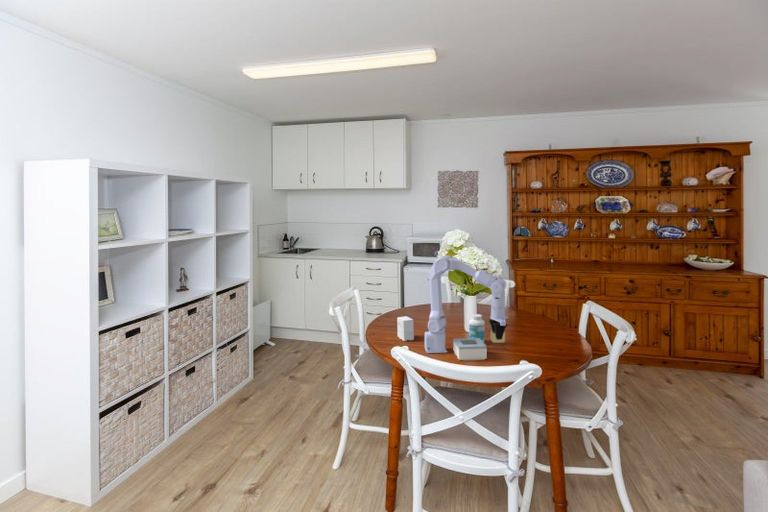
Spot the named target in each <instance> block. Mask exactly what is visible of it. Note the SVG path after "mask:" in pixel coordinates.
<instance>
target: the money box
mask: <svg viewBox="0 0 768 512" xmlns="http://www.w3.org/2000/svg"><path fill="white" fill-rule="evenodd" d="M452 341H453V343H452V344H453V345H452V347H453V348H452V350H453V351H454V352H453V354H454V355H455V356H457V357H456V358H457V360H458V359H459V360H463V361H486V360H485V359H487V352H488V351H487V349H488V347H487V344H486V343H485V342H484V343H483V342H482V340H481V339H480V338H469V337H465V338H459V337H458V338H453V339H452ZM459 360H458V361H459Z"/></svg>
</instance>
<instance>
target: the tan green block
mask: <svg viewBox="0 0 768 512" xmlns="http://www.w3.org/2000/svg"><path fill="white" fill-rule="evenodd" d="M490 341H491V342H492V343H493V344H495V343H505V342H506V333H505V332H504V333H503V337H502V339H499V340H497V338H496V332H495V331H492V330H490Z"/></svg>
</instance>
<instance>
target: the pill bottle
mask: <svg viewBox="0 0 768 512" xmlns="http://www.w3.org/2000/svg"><path fill="white" fill-rule="evenodd" d="M468 321H469V322H468V338H480V339H481V340H482V342H483V343H484V344H485V331H486V330H485V328H486V327H485V325H486V322H485V320H484V319H483V315H482V314H481V313H474V314H472V315H471V319H469V320H468Z"/></svg>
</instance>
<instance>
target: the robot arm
mask: <svg viewBox="0 0 768 512" xmlns="http://www.w3.org/2000/svg"><path fill="white" fill-rule="evenodd" d="M448 270H449V271H453V270H454V271H456V270H458V271H460V272H462V273H464V274H466V275H469V276H470V277H473V278H474V280H475V281H474V282H476V283H478V284H480V285H481V286H483V287H486V288H487V289H490V291H491V299H490V303H491V304H490V318H489V319H488V322H489V324H490V326H491V331H495V332H496V338H497V340H499V339H502V337H503V333H505V330H506V328H507V327H508V323H506V319H507V320H508V319H509V317H508V316H507V315H506V296H505V295H506V288H507V282H506V280H505V279H503V278H502V277H498V276H497V275H493V274H491V273H489V272H488V270H486V269H484V270H483V269H479V270H478V269H475V267H472V266H470V265H469V264H467V263H465V262H463V261H462V260H460V259H458V258H457V257H454V256H452V255H449V254H447V255H444V256H440V257H439V258H437V259H435V260H434V261H433V263H432V265H431V268H430V270H429V272H428V283H429V298H430V299H429V301H430V314H429V316H428V319H429V320H428V322H427V329H428V331H425V332H424V350H425V352H426V353H427V354H436V353H437V354H439V353H440V354H441V353H442V354H443V353H448V350H447V348H446V329H445V328H446V327H447V324H448V323H447V322H448V321H447V319H446V316H445V312H444V311H443V297H442V296H443V295H442V279H441V277H442V275H444V273H446V272H447V271H448Z"/></svg>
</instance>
